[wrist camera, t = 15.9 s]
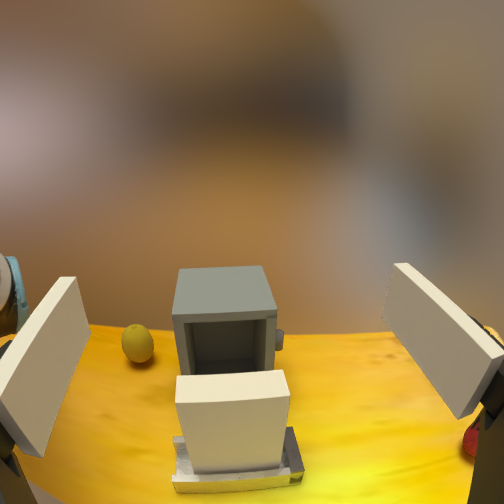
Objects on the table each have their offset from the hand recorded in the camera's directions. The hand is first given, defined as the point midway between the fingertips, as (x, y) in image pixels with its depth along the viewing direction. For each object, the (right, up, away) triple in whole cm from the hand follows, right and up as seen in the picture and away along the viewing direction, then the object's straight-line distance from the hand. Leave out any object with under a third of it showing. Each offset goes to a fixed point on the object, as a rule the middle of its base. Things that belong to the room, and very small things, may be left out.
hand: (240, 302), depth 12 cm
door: (-1, -25, +21) cm, 32 cm away
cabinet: (-3, -19, +36) cm, 41 cm away
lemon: (-19, -18, +40) cm, 48 cm away
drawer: (-1, -25, +21) cm, 33 cm away
